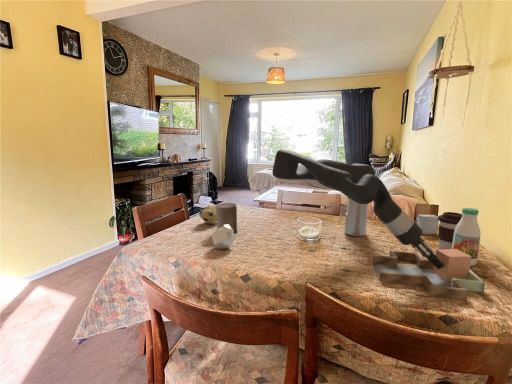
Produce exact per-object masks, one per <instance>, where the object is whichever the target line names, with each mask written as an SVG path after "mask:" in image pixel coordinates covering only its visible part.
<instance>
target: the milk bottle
mask: <svg viewBox="0 0 512 384" xmlns="http://www.w3.org/2000/svg"><path fill="white" fill-rule="evenodd" d="M461 212H462V213H461V214H462V218H461V220H460V221H459V223H458V224H457V226H456V228H455V231H454V236H453V243H452V249H458V250H460V251H462V252H464V253H466V254H468V255H470V256H472V257H471V263H470V267H473V266H476V265H477V263H478V258H479V250H480V243H481V236H482V235H481V228H480V225H479V223H478V216H479V210H478V209H477V208H472V207H463V208H462V210H461Z"/></svg>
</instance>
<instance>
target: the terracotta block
mask: <svg viewBox="0 0 512 384" xmlns="http://www.w3.org/2000/svg"><path fill="white" fill-rule="evenodd" d="M435 255H436V256H437V258H438V259H439V260H440V261H441V262H442V263H443V264H444V266H443V267H442V268H440V269H437V268H436V267H435V266H434V273H435V274H437V275H438V276H440V277H441V278H443V279H444V280H446V281H452V278H456V279H466V280H468V277H469V270H471V269H470V268H471V266H470V263H471V257H472V256H470V255H468V254H466V253H464V252H462V251H460V250H458V249H440V248H439V249H436V250H435Z"/></svg>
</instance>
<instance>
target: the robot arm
mask: <svg viewBox="0 0 512 384" xmlns="http://www.w3.org/2000/svg"><path fill="white" fill-rule="evenodd" d="M299 164H300V165H302V166H303V167H302V168H299ZM298 168H299V169H298ZM272 175H273V177H275V178H277V179H278V180H279V179H280V180H285V181H286V180H287V181H295V180H296V181H299V180H300V181H301V180H306V181H307V180H309V181H317V182H318V183H319V184H320V185H322V186H324V187H326V188H329V189H331V190H335V191H337V192H340V193H341V194H342V195H344V196H346V197H347V201H346V202H347V203H346V205H347V206H346V213H345V219H344V234H346V235H349V236H351V237H352V236H353V237H364V236H366V235H367V226H368V225H367V224H368V223H367V221H368V213H369V210H368V209H369V204H371V203H372V202H373V207H372V208H373V214H374V215H375V216H376V217H377V218H378V219H379V220H380V221H381V222H382V223H383V224H384V226H385V227H386V228H387V230H388V231H389V232H390V233H391V234H392V235H393V236H394V237H395V238H396V239H397V240H398V242H400V243H401V244H402V245H403V246H409V245H411V246H412V248H413V249H414V250H415V251H416V252H418V253H419V254H420V255H421V256H422V257H423V258H425V259H426V260H428V261H429V262H432V263H433V265H434V266H435V267H436V268H437V269H440V268H442V267H443V266H444V264H443V263H442V262H441V261H440V260H439V259H438V258H437V256H436V253H434V250H433V249H432V247H430V245H429V243H428V242H427V241H426V240H425V239H424V238H423V237H422V236H423V235H424V234H423V230H422V229H421V228H420V227H419V226H418V225H417V221H415V220H414V219H413V218H412V217H411V216H410V215H409V214H408V213H406V211H404V210H403V209H402V208H401V207H400V206H399V205H398V204H397V202H395V201H394V200H393V198H392V196H391V193H390V192H389V191H388V188H387V187H386V185H385V184H384V181H382V179H381V178H379V177H378V176H376V170H375V169H374V168H373V166H371V165H369V164H365V163H352V164H349V163H345V162H342V161H337V160H333V159H325V158H324V159H323V158H322V159H317V160H315V159H313V158H310V157H308V156H306V155H303V154H301V153H300V152H299V153H298V152H297V151H294V150H291V149H290V150H289V149H279V150H277V151H276V153H275V157H274V162H273V166H272Z"/></svg>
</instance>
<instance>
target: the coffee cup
mask: <svg viewBox="0 0 512 384" xmlns="http://www.w3.org/2000/svg"><path fill="white" fill-rule="evenodd" d="M437 217H438V220H439V223H438V233H437V235H438V248H439V249H452V243H453V236H454V231H455V228H456V226H457V224H458V223H459V221H460V220H461V218H462V213H459V212H454V211H453V212H452V211H445V212H443V213H442V214H440V215H438V216H437Z"/></svg>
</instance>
